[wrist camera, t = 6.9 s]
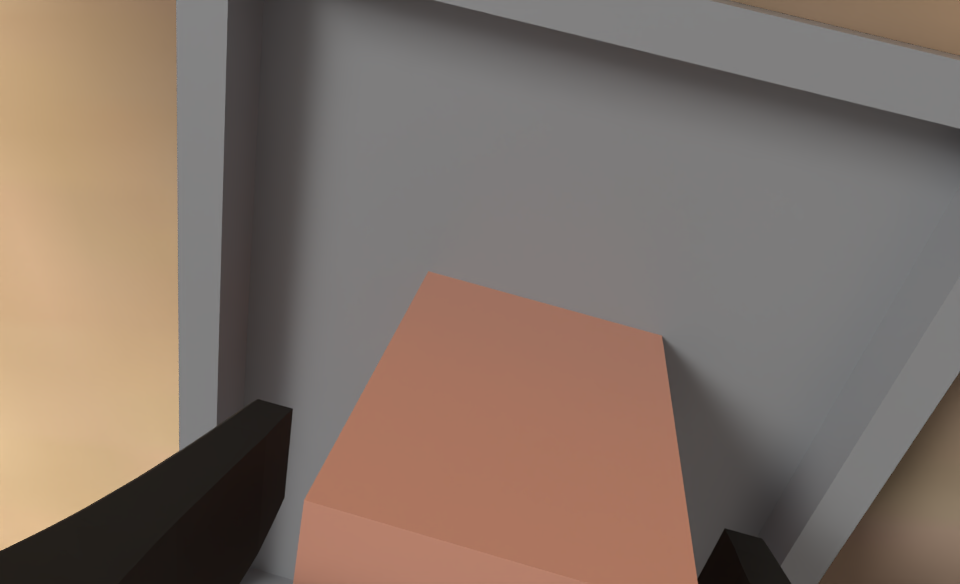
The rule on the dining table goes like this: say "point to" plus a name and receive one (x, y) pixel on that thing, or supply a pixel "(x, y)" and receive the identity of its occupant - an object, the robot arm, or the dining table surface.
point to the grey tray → (580, 225)
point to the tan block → (503, 454)
